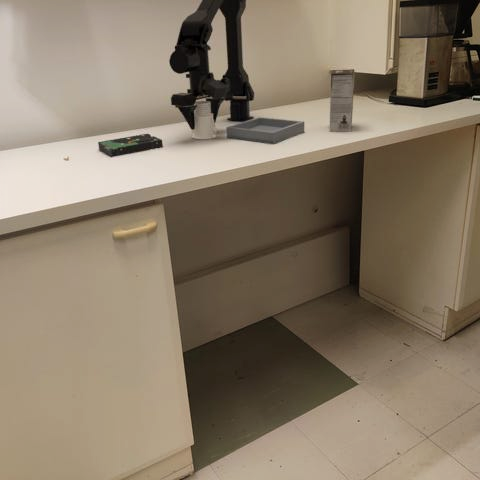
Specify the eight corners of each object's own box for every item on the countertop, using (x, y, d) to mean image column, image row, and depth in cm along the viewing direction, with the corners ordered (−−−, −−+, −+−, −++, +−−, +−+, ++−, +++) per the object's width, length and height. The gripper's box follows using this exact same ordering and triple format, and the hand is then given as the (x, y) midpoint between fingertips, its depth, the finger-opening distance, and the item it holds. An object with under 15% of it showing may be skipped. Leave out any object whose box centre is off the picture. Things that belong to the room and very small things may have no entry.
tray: (259, 126, 149) (259, 117, 148) (304, 132, 140) (304, 121, 138) (227, 137, 138) (226, 127, 136) (273, 144, 128) (273, 132, 127)
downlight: (185, 138, 139) (184, 103, 134) (197, 133, 145) (195, 99, 140) (210, 141, 136) (209, 105, 132) (221, 135, 142) (220, 101, 137)
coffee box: (330, 125, 147) (332, 69, 140) (351, 124, 145) (354, 68, 139) (329, 131, 139) (330, 73, 132) (351, 131, 137) (354, 72, 130)
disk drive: (148, 142, 139) (98, 151, 132) (147, 133, 138) (96, 141, 131) (164, 149, 131) (111, 159, 124) (162, 139, 130) (110, 148, 123)
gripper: (197, 74, 121) (202, 136, 128) (242, 66, 134) (245, 122, 141) (166, 73, 127) (172, 131, 134) (212, 65, 141) (216, 119, 147)
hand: (203, 126), depth 139 cm, fingers open, 9 cm apart
